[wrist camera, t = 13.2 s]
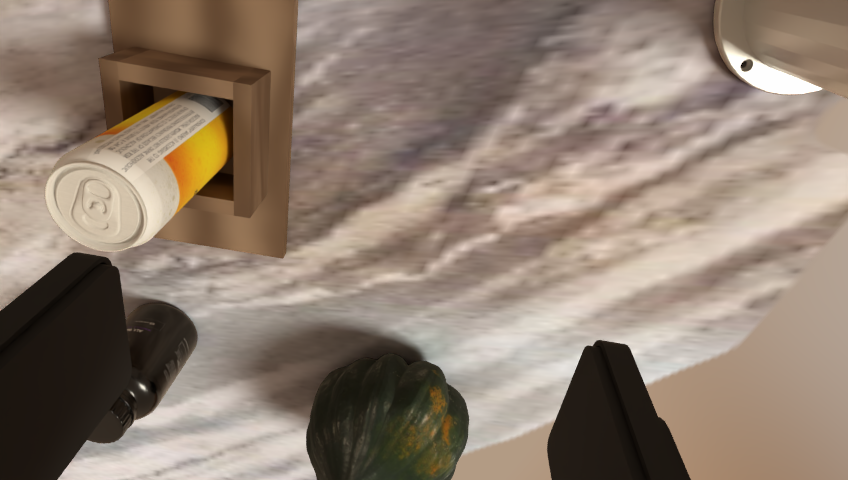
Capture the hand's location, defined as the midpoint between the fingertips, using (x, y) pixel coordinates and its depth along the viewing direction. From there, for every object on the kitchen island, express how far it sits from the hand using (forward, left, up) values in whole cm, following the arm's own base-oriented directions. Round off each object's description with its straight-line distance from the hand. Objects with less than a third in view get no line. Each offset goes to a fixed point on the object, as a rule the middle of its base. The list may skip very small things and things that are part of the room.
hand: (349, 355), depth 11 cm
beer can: (+16, +8, -32) cm, 37 cm away
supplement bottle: (+21, +30, -33) cm, 49 cm away
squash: (-2, +33, -33) cm, 47 cm away
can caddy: (+16, +8, -33) cm, 37 cm away
